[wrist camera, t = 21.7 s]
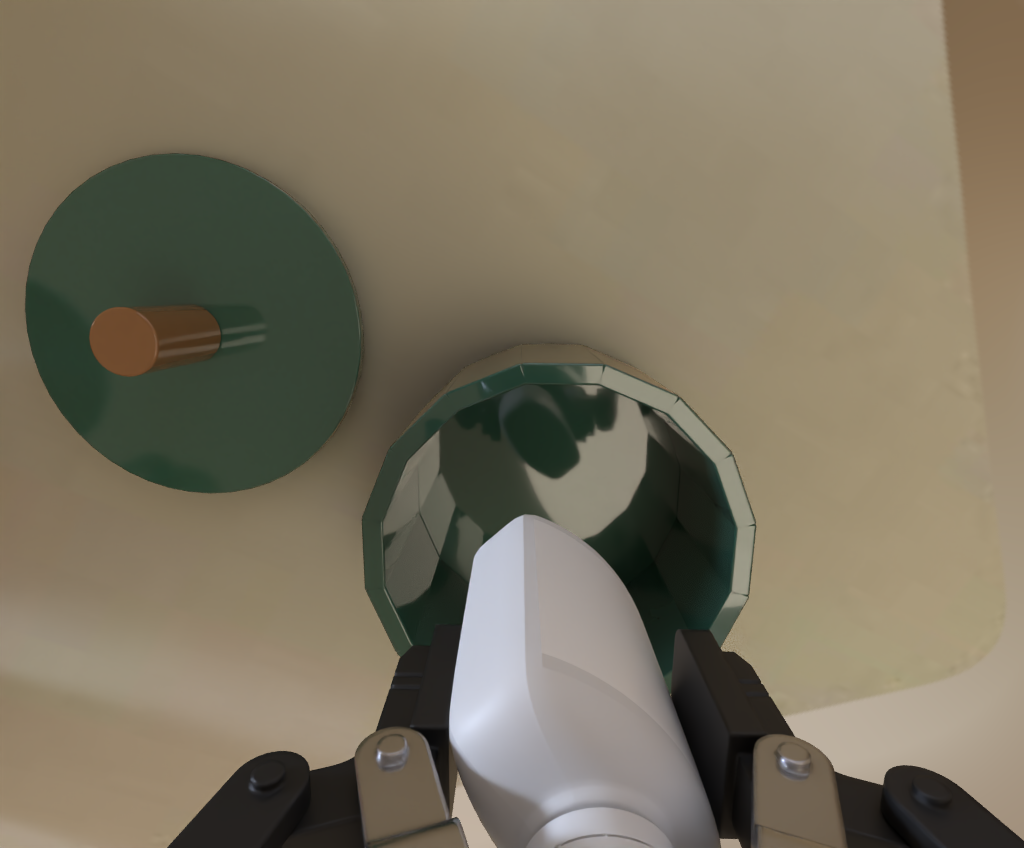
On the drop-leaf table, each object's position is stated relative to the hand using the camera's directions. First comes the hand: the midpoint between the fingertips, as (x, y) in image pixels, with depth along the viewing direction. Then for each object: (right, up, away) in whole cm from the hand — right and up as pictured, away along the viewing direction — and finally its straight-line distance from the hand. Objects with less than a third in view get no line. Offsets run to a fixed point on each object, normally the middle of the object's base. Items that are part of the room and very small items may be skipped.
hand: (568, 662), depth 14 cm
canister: (0, +3, +13) cm, 13 cm away
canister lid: (-15, +10, +11) cm, 21 cm away
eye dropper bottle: (0, +1, +4) cm, 4 cm away
